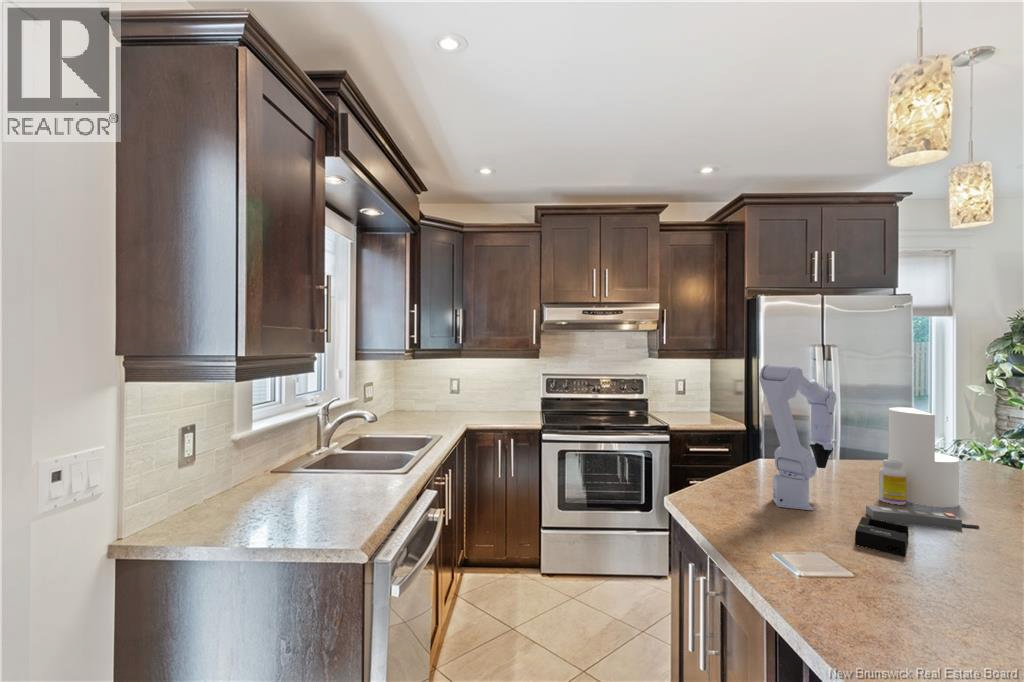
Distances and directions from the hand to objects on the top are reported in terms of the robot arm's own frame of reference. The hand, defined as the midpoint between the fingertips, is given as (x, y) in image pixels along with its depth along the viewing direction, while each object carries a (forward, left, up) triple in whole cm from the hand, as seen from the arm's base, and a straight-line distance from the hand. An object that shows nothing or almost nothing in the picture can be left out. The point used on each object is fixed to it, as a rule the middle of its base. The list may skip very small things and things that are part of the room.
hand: (821, 467), depth 152 cm
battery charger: (+4, -35, -10) cm, 37 cm away
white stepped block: (+31, +10, -10) cm, 34 cm away
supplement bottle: (+20, +2, -10) cm, 22 cm away
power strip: (+20, -15, -9) cm, 27 cm away
